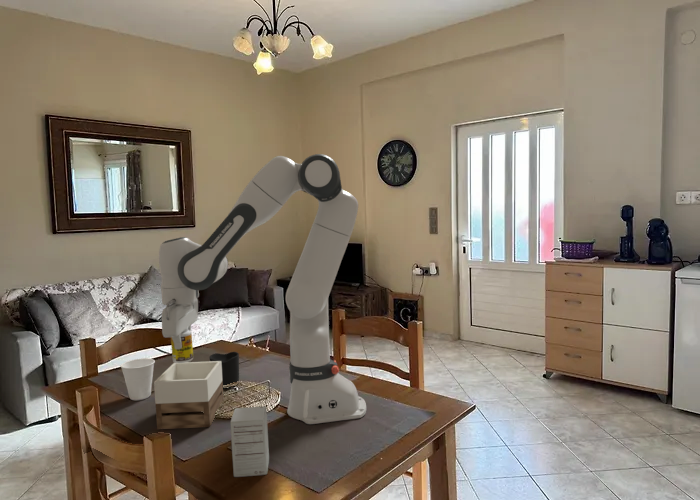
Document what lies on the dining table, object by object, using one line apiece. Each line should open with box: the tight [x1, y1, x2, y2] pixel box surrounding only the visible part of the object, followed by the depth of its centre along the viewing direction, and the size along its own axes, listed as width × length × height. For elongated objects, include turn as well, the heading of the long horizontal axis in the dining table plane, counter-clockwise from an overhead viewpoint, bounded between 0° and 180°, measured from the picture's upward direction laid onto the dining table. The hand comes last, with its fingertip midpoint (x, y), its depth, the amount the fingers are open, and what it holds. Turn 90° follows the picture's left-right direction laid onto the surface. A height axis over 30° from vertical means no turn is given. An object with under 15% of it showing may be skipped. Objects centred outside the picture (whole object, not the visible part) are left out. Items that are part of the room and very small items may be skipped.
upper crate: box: [153, 360, 223, 405], centre depth 138 cm, size 14×16×6 cm
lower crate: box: [155, 381, 225, 430], centre depth 138 cm, size 14×16×7 cm
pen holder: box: [208, 351, 240, 385], centre depth 162 cm, size 9×9×10 cm
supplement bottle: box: [170, 327, 194, 363], centre depth 137 cm, size 6×6×10 cm
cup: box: [120, 357, 156, 401], centre depth 154 cm, size 10×10×11 cm
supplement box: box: [230, 405, 270, 478], centre depth 109 cm, size 7×7×13 cm
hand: (182, 345), depth 137 cm, fingers closed on supplement bottle, 6 cm apart
